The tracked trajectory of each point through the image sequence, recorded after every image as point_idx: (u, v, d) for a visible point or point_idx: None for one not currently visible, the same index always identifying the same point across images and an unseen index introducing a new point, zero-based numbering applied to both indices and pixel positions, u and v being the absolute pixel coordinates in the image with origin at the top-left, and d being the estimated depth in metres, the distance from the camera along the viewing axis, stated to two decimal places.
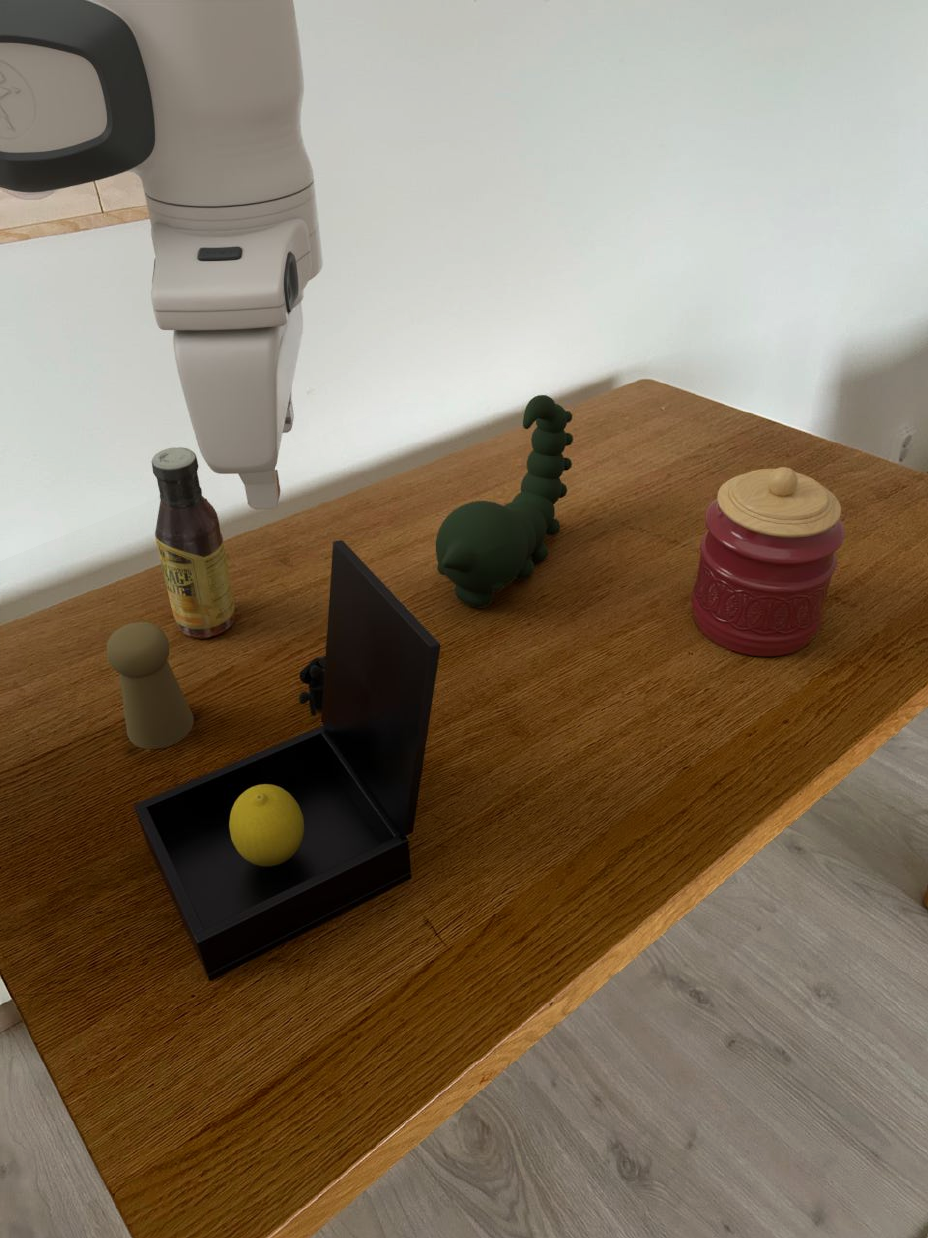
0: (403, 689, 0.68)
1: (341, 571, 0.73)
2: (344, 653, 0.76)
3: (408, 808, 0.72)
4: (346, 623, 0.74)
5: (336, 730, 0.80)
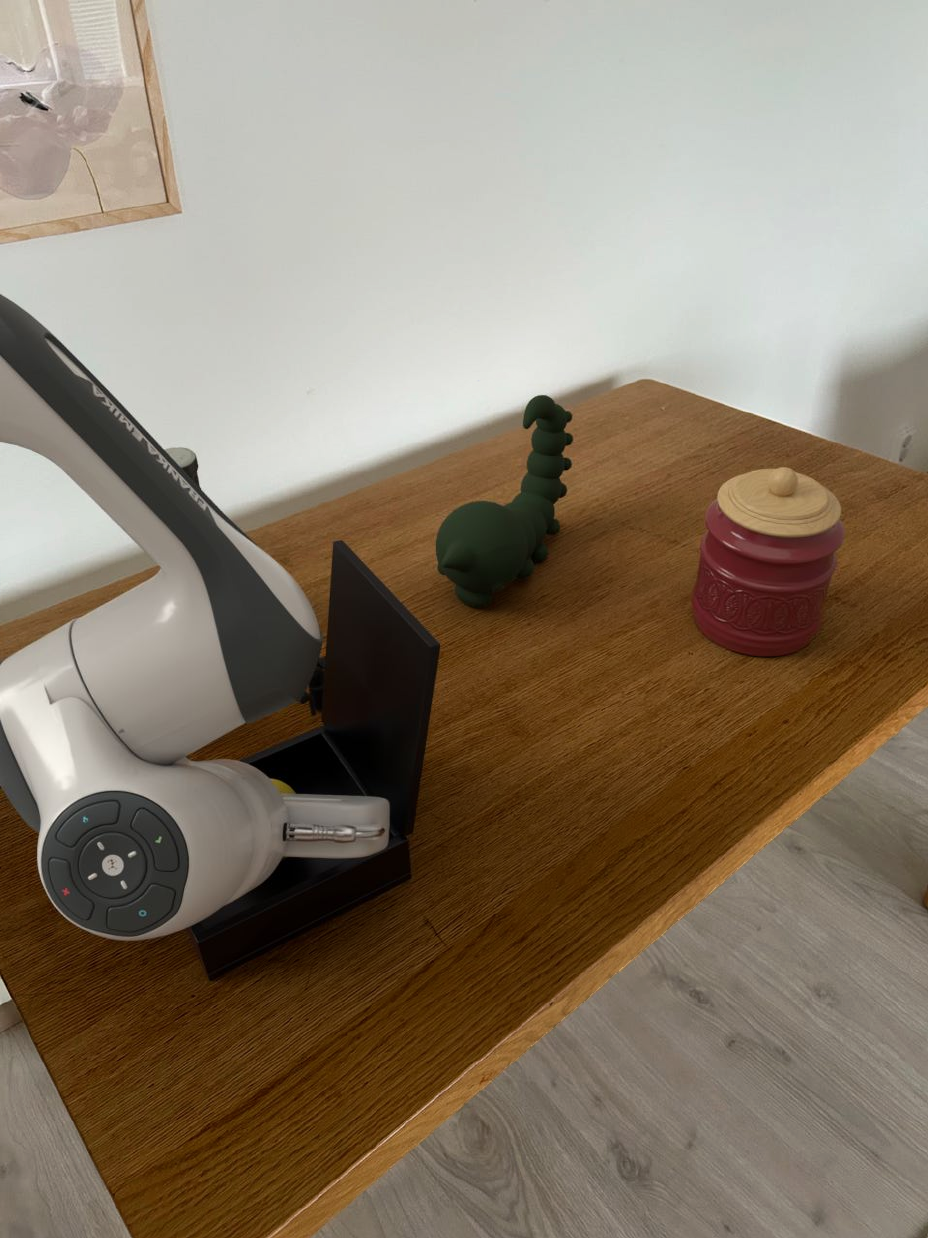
0: (403, 689, 0.68)
1: (341, 571, 0.73)
2: (344, 653, 0.76)
3: (408, 808, 0.72)
4: (346, 623, 0.74)
5: (336, 730, 0.80)
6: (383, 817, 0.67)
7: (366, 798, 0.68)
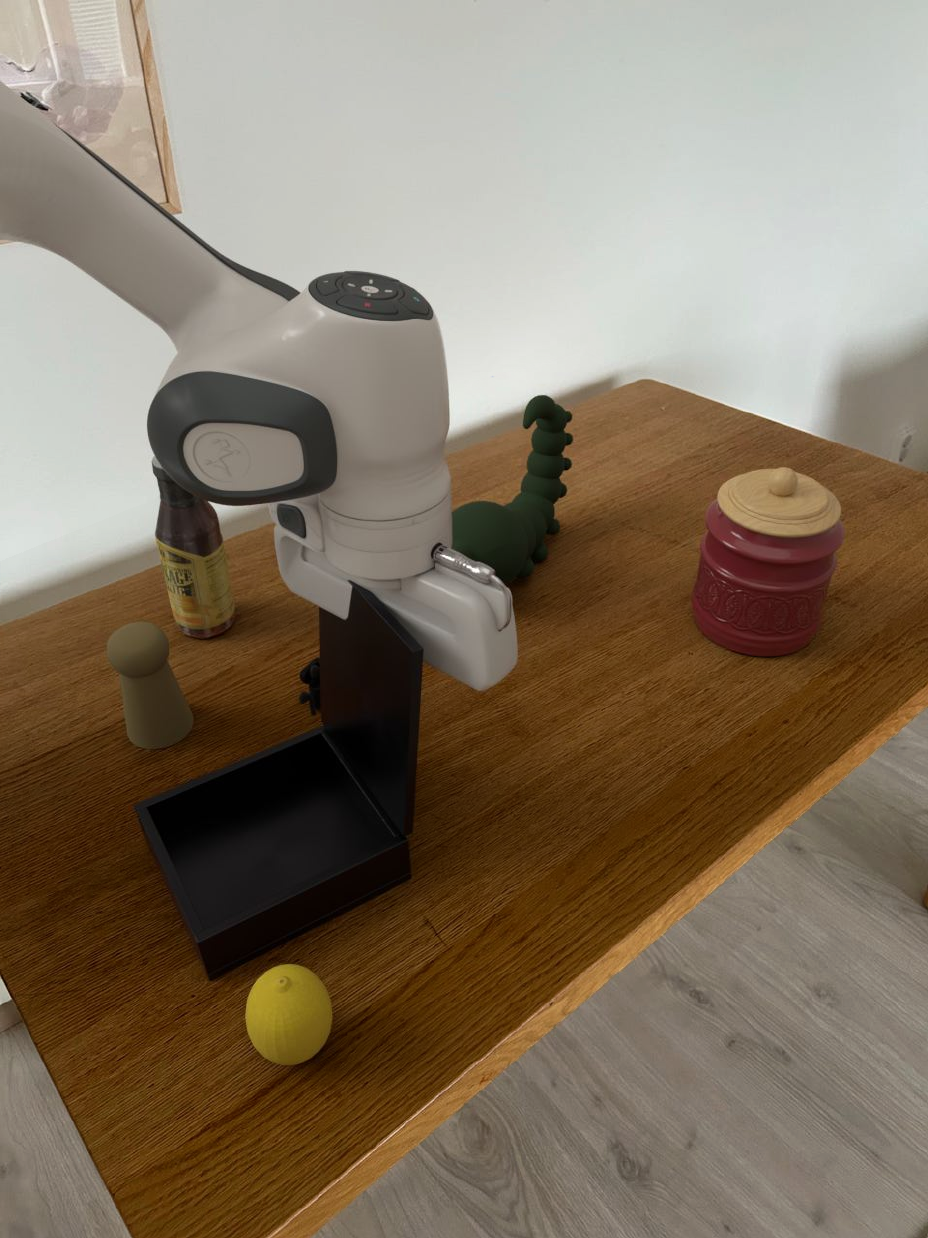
0: (392, 693, 0.68)
1: None
2: (336, 655, 0.75)
3: (405, 809, 0.72)
4: (335, 626, 0.74)
5: (335, 731, 0.80)
6: (509, 644, 0.65)
7: None
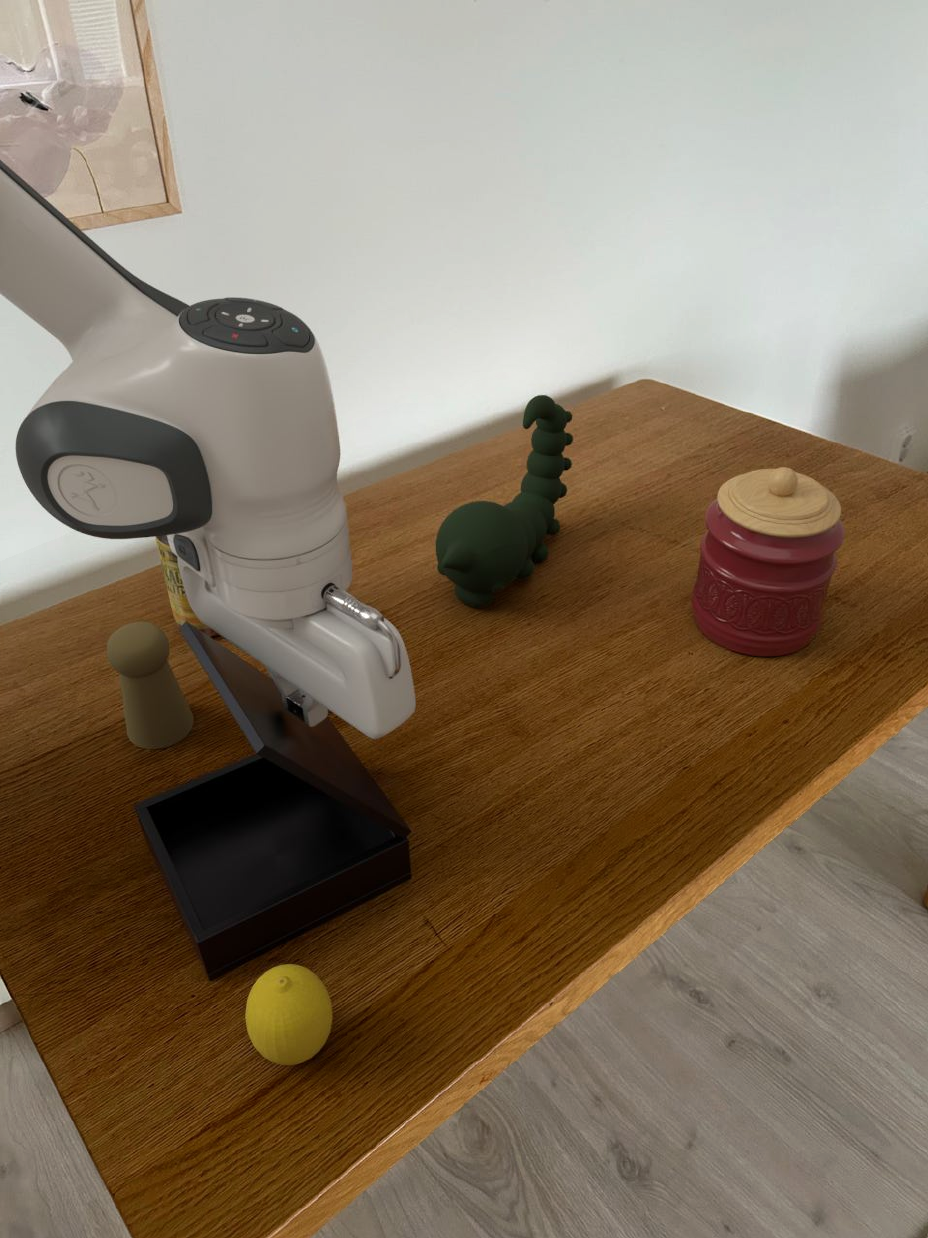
0: None
1: None
2: None
3: (383, 826, 0.71)
4: None
5: None
6: (403, 691, 0.62)
7: None
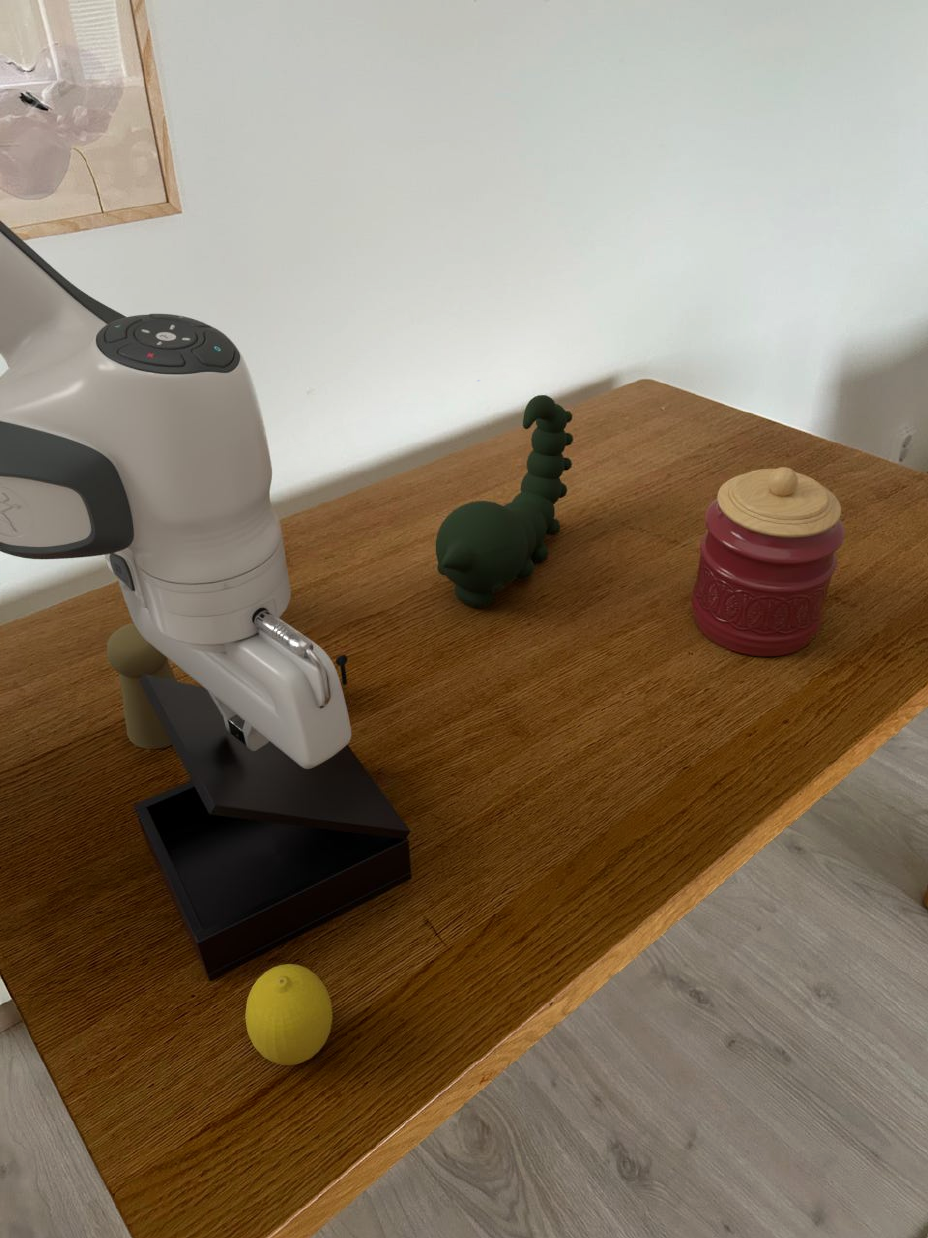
0: None
1: None
2: None
3: (377, 835, 0.71)
4: None
5: None
6: (336, 720, 0.60)
7: None
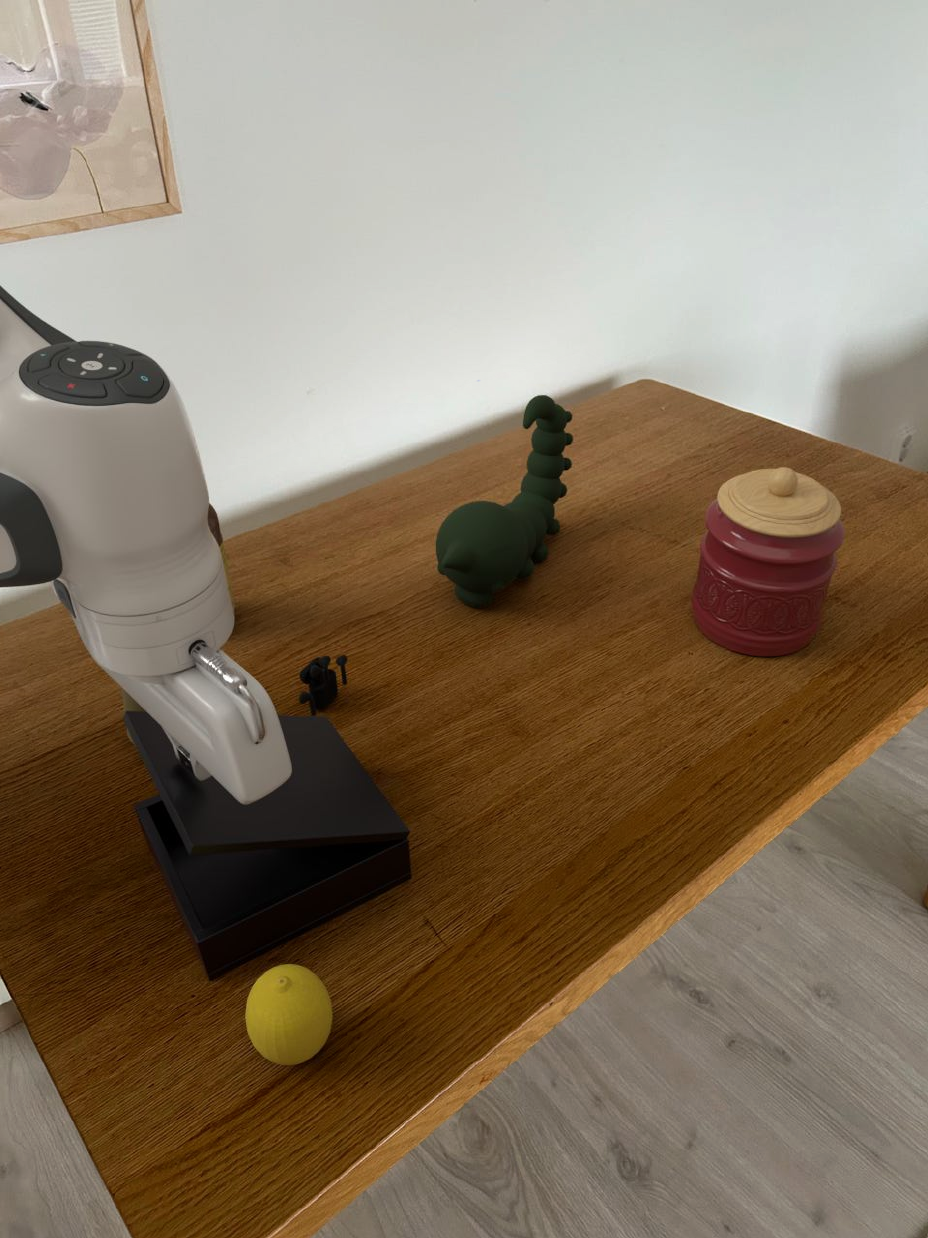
0: None
1: None
2: None
3: (374, 841, 0.72)
4: None
5: None
6: (273, 756, 0.58)
7: None
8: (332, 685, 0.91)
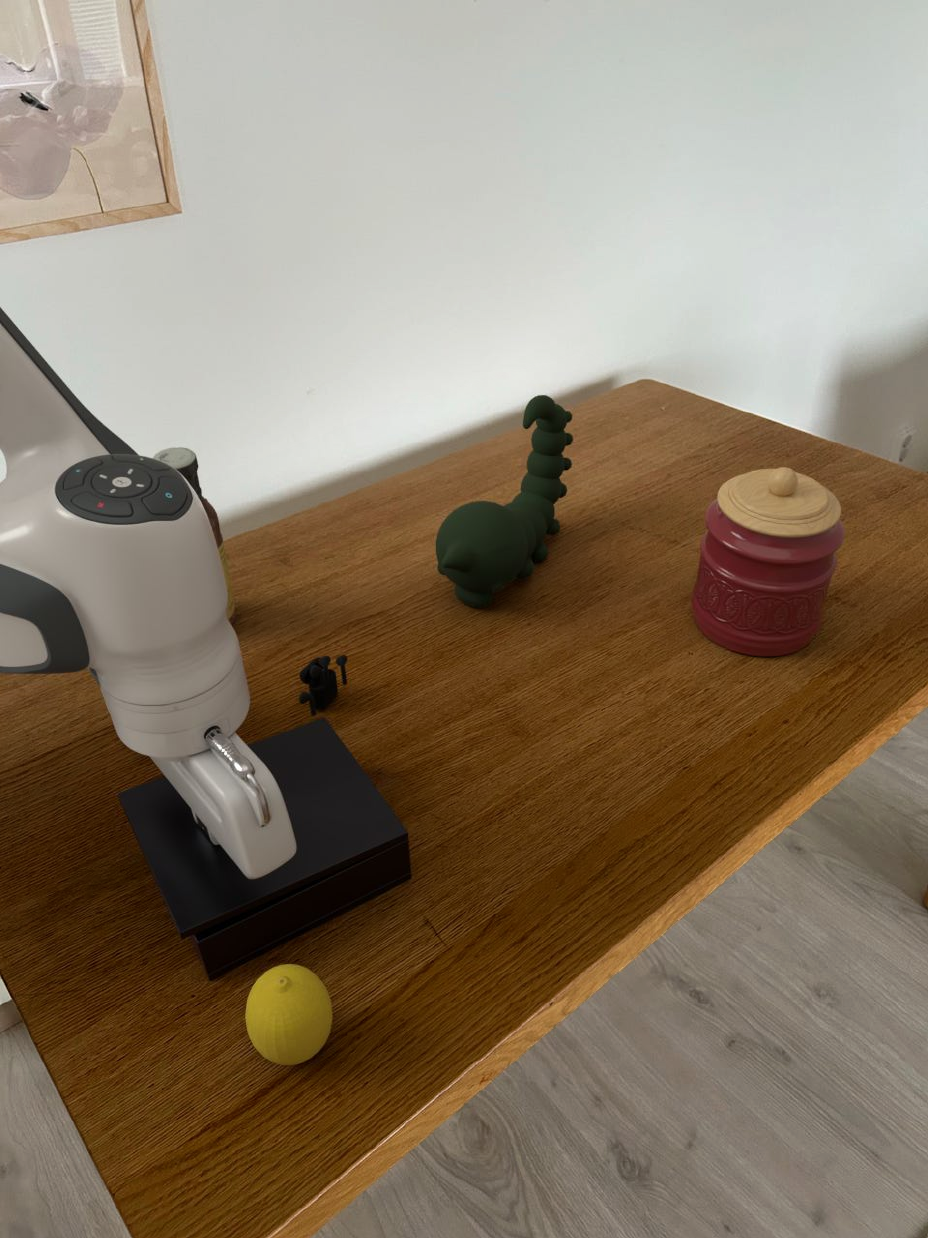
0: None
1: None
2: None
3: None
4: None
5: None
6: (278, 837, 0.62)
7: None
8: (332, 685, 0.91)
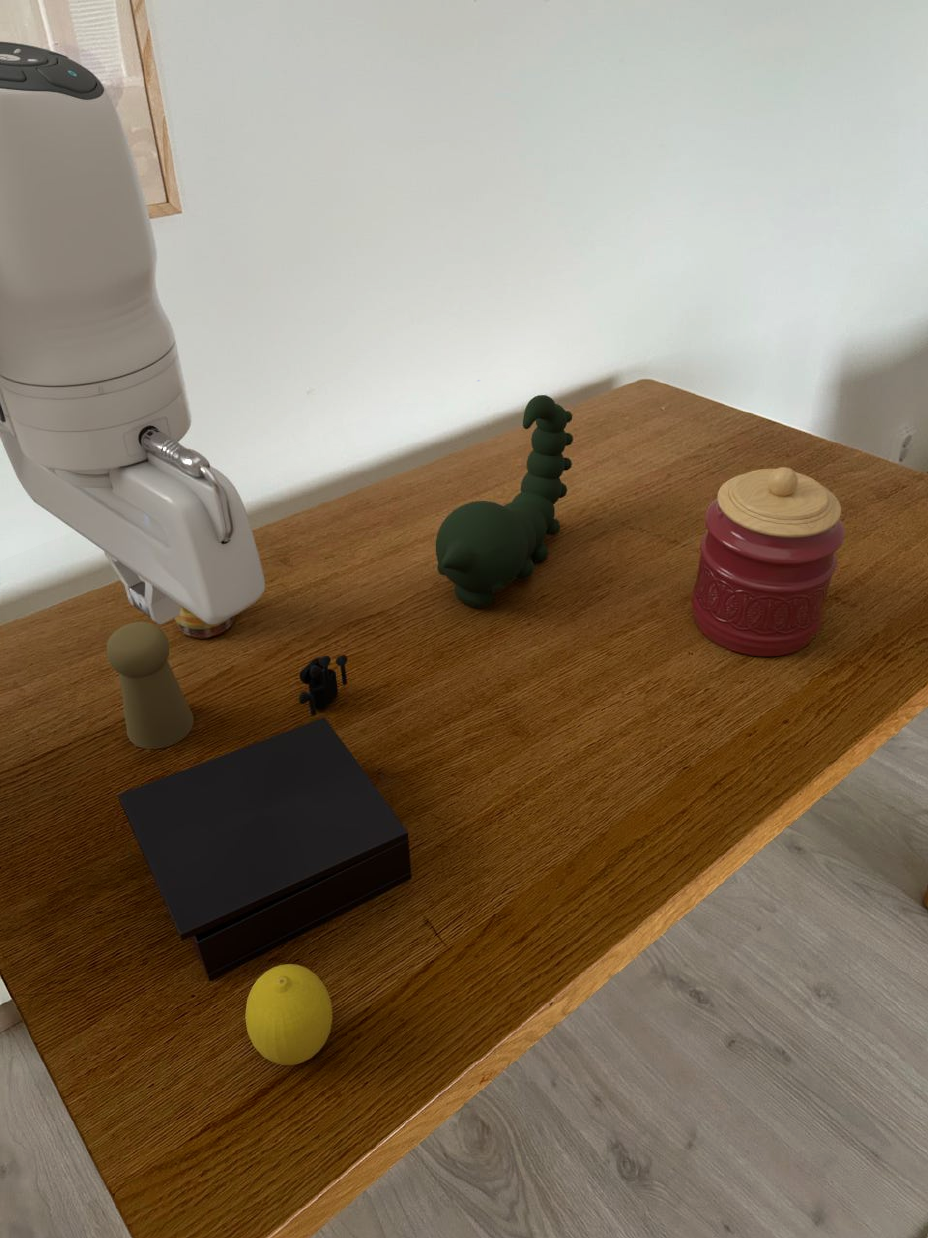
0: None
1: None
2: None
3: (373, 854, 0.72)
4: None
5: None
6: (243, 563, 0.50)
7: None
8: (332, 685, 0.91)
